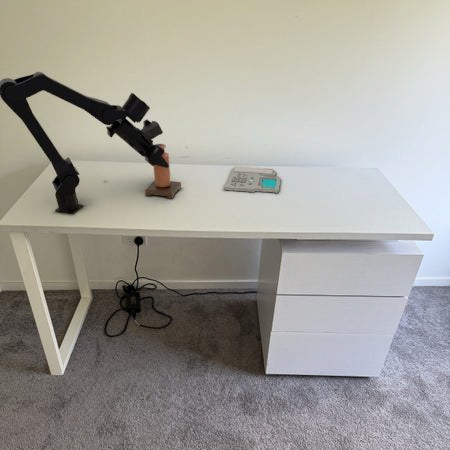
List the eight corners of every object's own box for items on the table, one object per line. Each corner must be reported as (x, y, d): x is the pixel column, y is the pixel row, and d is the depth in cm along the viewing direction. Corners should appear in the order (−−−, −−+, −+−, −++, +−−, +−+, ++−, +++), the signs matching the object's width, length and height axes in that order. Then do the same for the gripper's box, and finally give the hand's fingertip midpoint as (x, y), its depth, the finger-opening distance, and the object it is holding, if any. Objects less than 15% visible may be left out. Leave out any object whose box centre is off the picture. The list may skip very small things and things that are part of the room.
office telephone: (233, 163, 159) (281, 166, 157) (233, 169, 160) (281, 173, 158) (224, 183, 141) (279, 187, 138) (224, 190, 142) (278, 194, 140)
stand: (172, 199, 135) (171, 192, 134) (145, 196, 137) (144, 189, 136) (181, 188, 143) (180, 182, 141) (156, 185, 145) (155, 179, 143)
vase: (167, 187, 136) (164, 148, 127) (152, 186, 136) (149, 147, 128) (172, 182, 140) (170, 143, 132) (158, 180, 141) (155, 142, 132)
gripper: (155, 120, 116) (190, 153, 127) (136, 107, 128) (169, 138, 139) (133, 150, 117) (169, 180, 128) (116, 134, 130) (151, 163, 141)
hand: (165, 164), depth 134 cm, fingers closed on vase, 5 cm apart
